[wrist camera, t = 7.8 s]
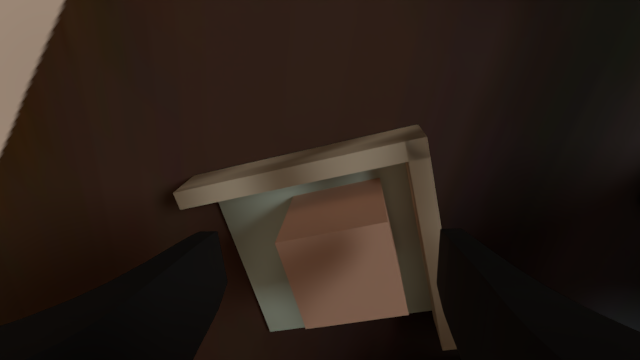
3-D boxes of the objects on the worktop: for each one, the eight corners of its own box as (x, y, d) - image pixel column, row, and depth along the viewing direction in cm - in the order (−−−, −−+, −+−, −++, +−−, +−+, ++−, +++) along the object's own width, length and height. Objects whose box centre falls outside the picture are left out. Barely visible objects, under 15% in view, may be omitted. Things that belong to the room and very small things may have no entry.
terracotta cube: (379, 177, 19) (387, 222, 14) (396, 253, 21) (408, 314, 16) (293, 196, 20) (274, 243, 15) (316, 267, 21) (305, 329, 17)
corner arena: (417, 124, 18) (427, 136, 16) (449, 316, 22) (460, 348, 20) (193, 175, 20) (172, 192, 18) (262, 340, 25) (252, 371, 22)
